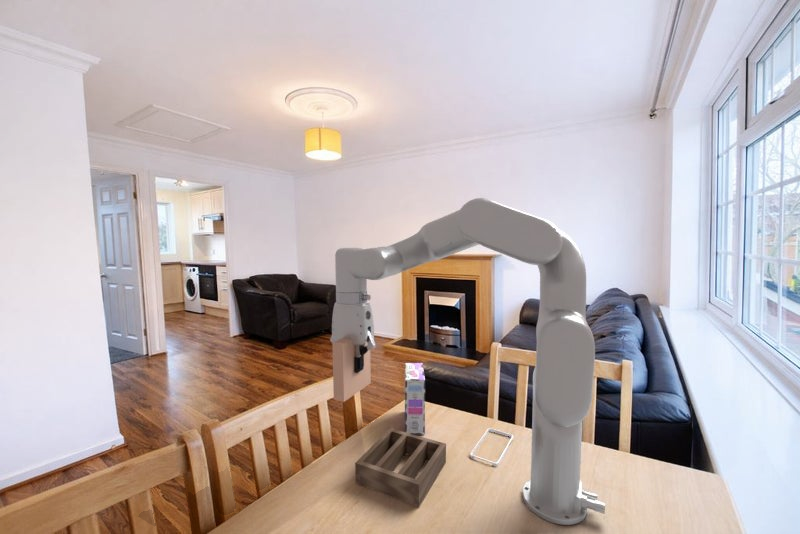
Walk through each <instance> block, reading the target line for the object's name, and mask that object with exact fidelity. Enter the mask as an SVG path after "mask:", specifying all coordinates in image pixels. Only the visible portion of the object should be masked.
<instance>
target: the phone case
mask: <svg viewBox="0 0 800 534" xmlns="http://www.w3.org/2000/svg"><path fill="white" fill-rule="evenodd" d="M489 432H491V433H494V432H495V434H498V435H501V434H502V436H504V435H505V437H508V436H509V437H508V438H510V440H509V441H508V443H507V445H506V446H505V448H504V450H503V451H502V453H501V454H500V457H499V458H498V460H497V461H496V462H495V461H492V460H489V459H486V458H483V457H480V456H477V455H475V454H474V453H475V451H476V450H477V449H478V448H479V446H480V445H481V443H482V442H483V440H484V439H485V438H486V436H487V435H488V434H489ZM512 440H513V441H514V435H513V434H511V433H509V432H505V431H502V430H498V429H495V428H491V427H489V428H487V429H486V431H485V432H484V433H483V434H482V436H481V438H480V439H479V440H478V442H477V443H476V444H475V445H474V447H473V449H472V450H471V451H470V459H472V460H475V458H476V459H478V460H481V461H485V462H487V463H490V464H491V466H493V467H499V465H500V464H501V462H502V461H503V459H504V456H505V455H506V453H507V451H508V450H509V446H510V445H511V443H512V442H513V441H512Z"/></svg>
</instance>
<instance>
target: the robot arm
mask: <svg viewBox="0 0 800 534" xmlns="http://www.w3.org/2000/svg"><path fill="white" fill-rule="evenodd" d="M479 245H480V246H482V247H484V248H486V249H489V250H492V251H495V252H497V253H500V254H502V255H505V256H507V257H510V258H512V259H515V260H517V261H520V262H522V263H525V264H528V265H533V266H537V268H538V271H539V306H538V307H539V308H538V318H537V322H536V327H535V328H536V329H535V331H536V333H535V335H536V347H535V348H536V354H535V365H534V370H533V373H532V421H531V422H532V423H531V453H530V458H531V459H530V479H529V480H527V481H526V482H525V483H524V485H523V486H522V498H523V502H524V504H525V505H526V506H527V507H528V509H529V510H530V511H531V512H532V513H534V514H535V515H537V516H538V517H539V518H541V519H543V520H545V521H546V522H549V523H553V524H557V525H562V526H563V525H564V526H570V525H576V524H579V523H581V522H582V521H584V520H585V519H586V516H587V513H588V509H589V510H592V511H594V512H597V513H600V514H605V513H606V512H605V511H606V509H605V508H606V506H605V505H606V503H605V502H603V501H600V500H598V494H597V493H595V492H591V491H590V492H589V491H586V490H585V488H582V481H581V463H582V461H581V459H582V440H583V421H584V420H585V419H586V417H587V416H588V414H589V413H590V411H591V406H592V401H593V391H594V390H593V389H594V377H595V376H594V375H595V360H596V359H595V358H596V345H595V344H596V343H595V338H594V334H593V330H591V327H590V326H589V324H588V322H587V316H586V315H587V313H586V311H587V270H586V264H585V261H584V257H583V254H582V252H581V251H580V248H578V246H577V244H576V243H575V242H574V241H573V239H572V238H571V237H570V236H569V235H568V234H566V233H565V232H564V231H562V230H561V229H559V228H558V227H557V226H556V225H555V224H554V223H553V222H552V221H549V220H548V219H544V218H541V217H538V216H535V215H532V214H530V213H528V212H527V213H526V212H523V211H521V210H518V209H516V208H512V207H509V206H507V205H503V204H501V203H499V202H497V201H494V200H491V199H488V198H485V197H479V198H478V197H477V198H473V199H471V200H468V201H467V202H465V204H463V205H462V206H461V208H460V209H458V210H456V211H454V212H451V213H450V214H449V213H448V214H447V215H444V216H442V217H440V218H436V219H434V220H432V221H429V222H426V223H425V224H424V225H422V227H421V228H420V230H418V232H416V233H414V234H413V235H411V236H409V237H407V238H405V239H403V240H400V241H398V242H396V243H393V244H389V245H387V246H378V247H369V248H362V247H341V248H339V249H338V248H337V250H336V251H335V255H334V256H335V257H334V258H335V259H334V260H335V263H334V264H335V265H334V266H335V302H334V305H333V309H332V317H331V318H332V319H331V321H332V322H331V336H330V338H329V341H330V343H331V344H332V343H333V342H335V341H337V340H339V339H342V338H343V339H350V340H352V342H353V344H354V345H355V351H356V357H354V372H355V373H358V372H360V371H361V370H363V368H364V355H365V354H366V352H367V351H368V350H370V351H371V350H372V349H374V348H376V347H377V344H376V342H375V327H374V318H373V317H374V316H373V311H372V307H371V304H370V303H369V302H368V301H371V299H372V298H371V297H372V296H371V294H368V291H367V290H368V288H367V280H370V281H379V280H383V279H385V278H389V277H391V276H393V277H394V276H395V275H398V274H400V273H403V272H406V271H408V270H411V269H413V268H416V267H418V266H421V265H424V264H426V263H429V262H436V261H439V260H441V259H443V258H447V257H449V256H452V255H454V254H458V253H460V252H462V251H466V250H467V249H471V248H473V247H477V246H479ZM366 341H367V343H368V345H367V346H365V344H366Z"/></svg>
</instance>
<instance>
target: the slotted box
mask: <svg viewBox="0 0 800 534" xmlns="http://www.w3.org/2000/svg"><path fill="white" fill-rule="evenodd" d="M407 455H410V456H409V458H408V459H407V460H406V461H405V463H404V464H403V465H402V467H401V468H400V469H399V471H398V472H395V469H396V468H397V467H398V466H399V465H400V463H401V462H402V460H403V459H405V457H406V456H407ZM427 461H428V462H427ZM354 464H355V465H354V472H355V473H354V474H355V485H356V484H357V485H359V486H362V487H365V488H367V489H369V490H372V491H374V492H377V493H380V494H383V495H386V496H388V497H391V498H392V499H396V500H399V501H402V502H404V503H407V504H409V505H412V506H415V507H417V508H420V506H421V505H422V503H423V502H424V500H425V498H426V496H427V495H428V493H429V492H430V491H431V489H432V487H433V485H434V483H435V481H436V480H437V479H438V476H439V475H440V473H441V471H443V468H444V467H445V465H446V464H447V443H444V442H442V441H438V440H434V439H430V438H427V437H423V436H421V435H420V436H419V435H415V434H409V433H406V432H405V431H401V430H397V429H394V428H390V427H389V428H388V429H387V430H386V431H385V432H384V433H383V434H382V435H381V436H380V437H379V438H378V439H377V440H376V442H375V441H374V443H373V445H371V446H370V447H369V448H368V449H367V451H365V452H364V453H363V454H362V456H361V457H359V458H358V459H357V461H356V462H355V463H354ZM425 464H426V465H425ZM416 477H417V478H416Z"/></svg>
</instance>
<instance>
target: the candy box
mask: <svg viewBox="0 0 800 534" xmlns="http://www.w3.org/2000/svg"><path fill="white" fill-rule="evenodd" d="M425 377H426V376H425V371H424V365H423V362H405V363H404V427H405V428H404V429H405V431H404V432H406V433H409V434H413V435H416V436H419V435H420V436H421V435H426V423H425V421H426V413H425V411H426V410H425V407H426V378H425Z"/></svg>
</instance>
